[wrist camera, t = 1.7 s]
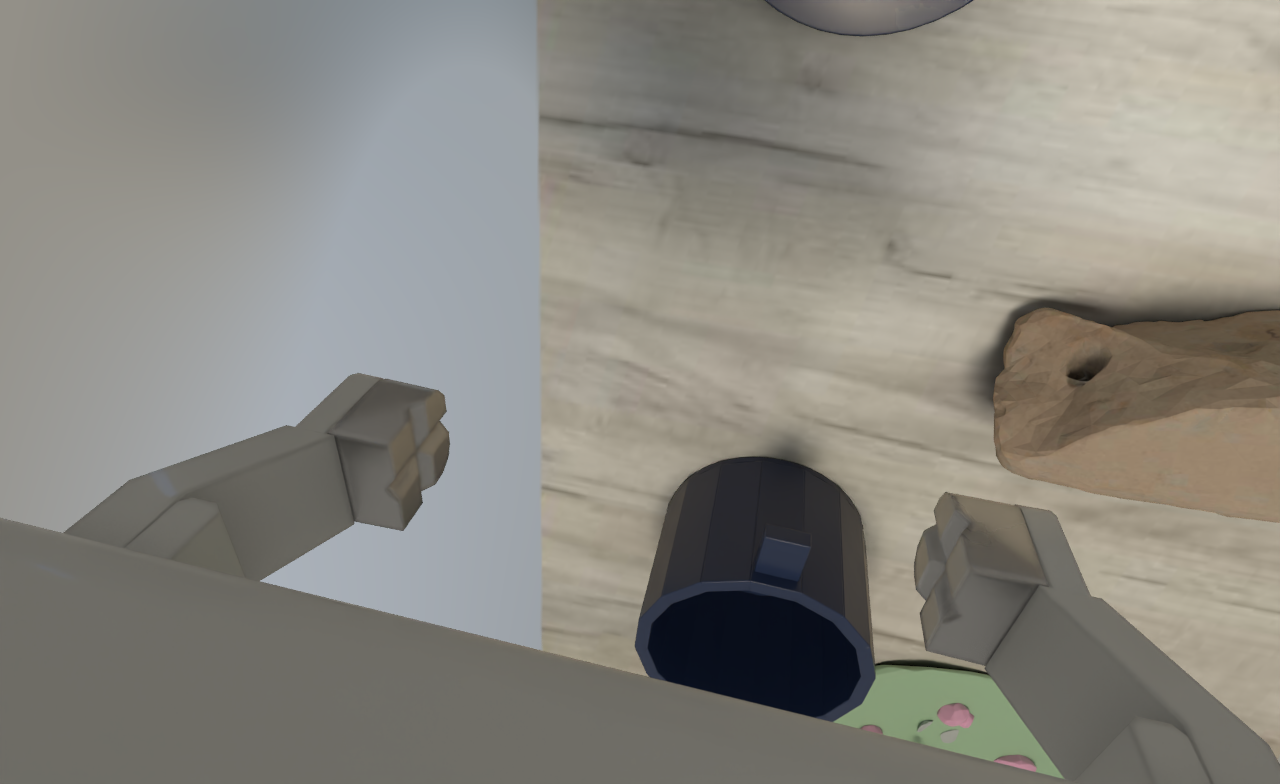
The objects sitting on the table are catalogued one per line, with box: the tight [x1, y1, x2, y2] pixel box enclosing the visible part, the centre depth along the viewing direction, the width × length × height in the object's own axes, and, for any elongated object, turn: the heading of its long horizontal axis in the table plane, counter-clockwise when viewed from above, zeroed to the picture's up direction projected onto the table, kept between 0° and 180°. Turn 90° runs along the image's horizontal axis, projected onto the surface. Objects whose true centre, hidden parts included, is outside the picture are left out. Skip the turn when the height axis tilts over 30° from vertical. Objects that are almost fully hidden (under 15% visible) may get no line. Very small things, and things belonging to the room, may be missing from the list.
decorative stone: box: [993, 308, 1280, 523], centre depth 30 cm, size 20×8×10 cm, turn 99°
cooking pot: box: [635, 457, 876, 722], centre depth 43 cm, size 14×19×10 cm
